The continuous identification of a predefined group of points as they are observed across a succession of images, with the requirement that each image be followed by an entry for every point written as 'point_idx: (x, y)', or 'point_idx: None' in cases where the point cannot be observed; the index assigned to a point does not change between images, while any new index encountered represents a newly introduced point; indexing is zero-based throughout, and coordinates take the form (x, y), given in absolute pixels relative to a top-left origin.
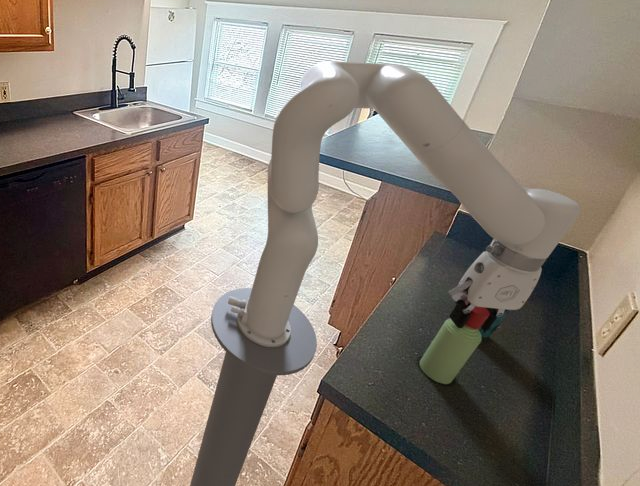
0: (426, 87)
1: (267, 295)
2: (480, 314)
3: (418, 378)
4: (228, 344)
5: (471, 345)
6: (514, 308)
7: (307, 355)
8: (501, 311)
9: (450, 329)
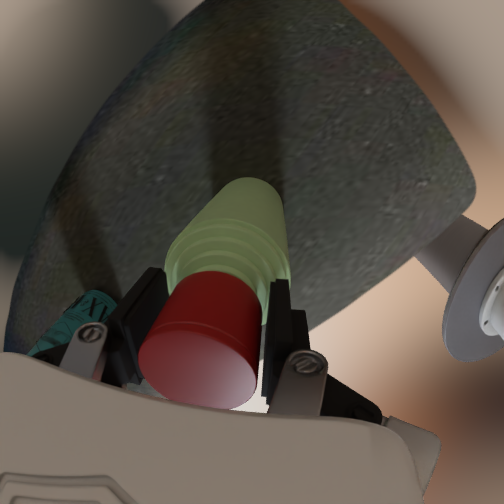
0: None
1: None
2: (212, 344)
3: (308, 190)
4: None
5: (231, 215)
6: (12, 365)
7: (492, 243)
8: (81, 350)
9: None
